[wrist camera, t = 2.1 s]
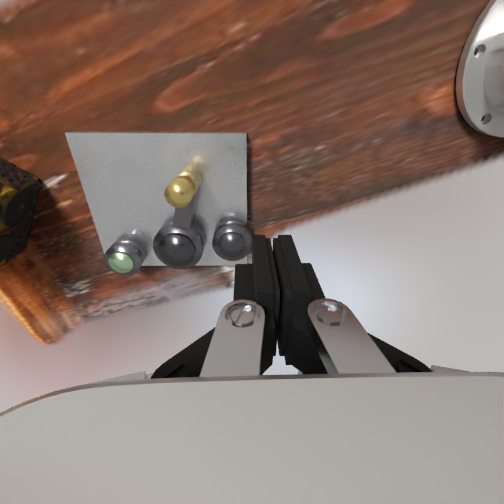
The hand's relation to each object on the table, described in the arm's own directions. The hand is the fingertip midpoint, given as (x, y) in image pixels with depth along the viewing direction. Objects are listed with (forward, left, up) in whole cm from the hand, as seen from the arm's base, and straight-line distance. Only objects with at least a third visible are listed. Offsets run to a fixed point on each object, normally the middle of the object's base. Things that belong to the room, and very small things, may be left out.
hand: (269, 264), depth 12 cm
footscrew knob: (+7, +4, -15) cm, 17 cm away
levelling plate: (+9, +3, -17) cm, 20 cm away
